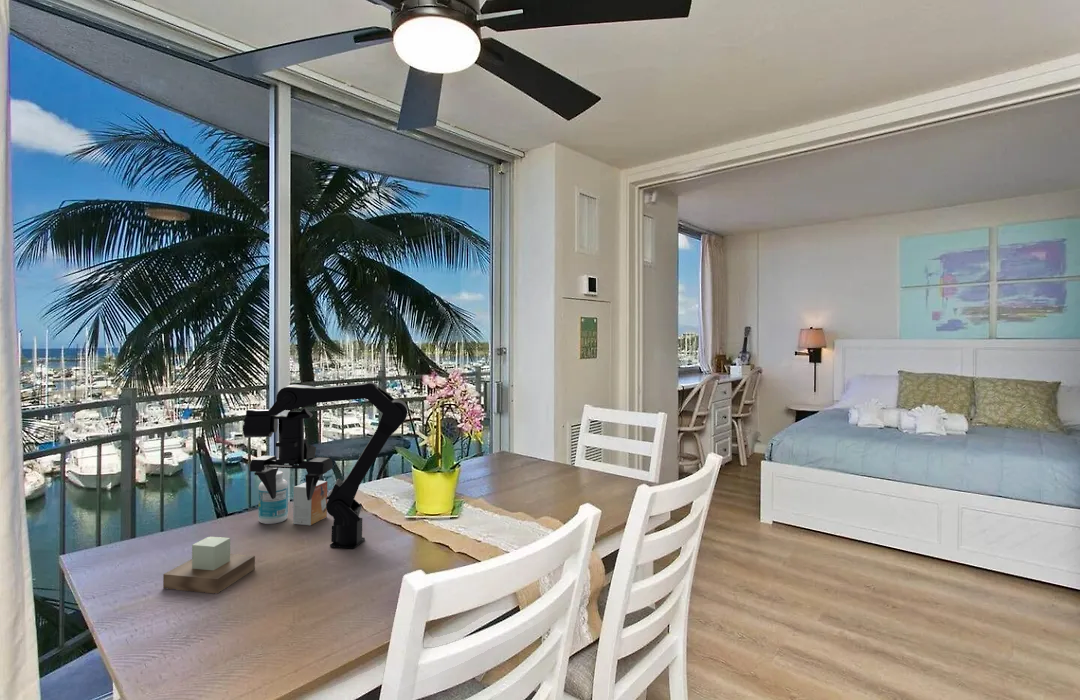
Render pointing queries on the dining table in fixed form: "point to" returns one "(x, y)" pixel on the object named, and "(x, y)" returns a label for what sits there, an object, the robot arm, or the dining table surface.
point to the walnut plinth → (209, 575)
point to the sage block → (210, 553)
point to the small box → (310, 504)
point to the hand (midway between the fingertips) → (291, 499)
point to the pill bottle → (273, 502)
